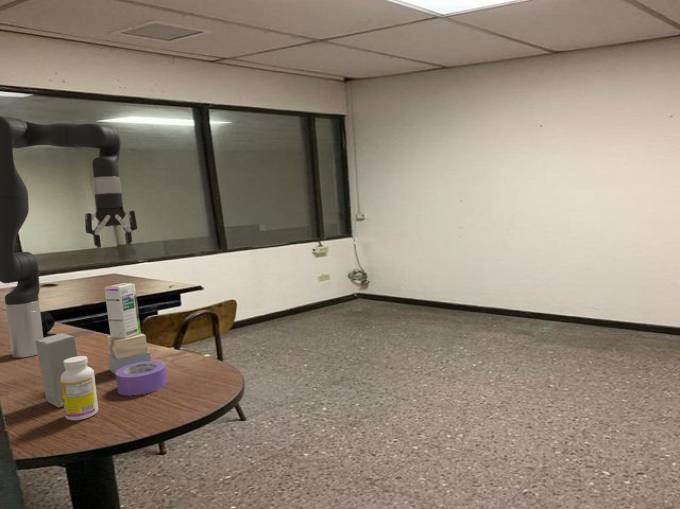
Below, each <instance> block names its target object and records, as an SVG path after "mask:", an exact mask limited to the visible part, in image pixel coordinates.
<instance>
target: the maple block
mask: <svg viewBox="0 0 680 509" xmlns="http://www.w3.org/2000/svg"><path fill="white" fill-rule="evenodd" d="M147 344H148V343H147V335H146V334H144V333H142V332H141V333H140V334H136V335H133V336H130V337H128V338H112V337H111V335H108V336H107V346H108V353H109V354H110V355H112V356H113V357H115V358H116V359H122V358H126V357H131V356H135V355H139V354H143V353H147V351H148V345H147Z"/></svg>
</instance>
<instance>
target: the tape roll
mask: <svg viewBox="0 0 680 509" xmlns="http://www.w3.org/2000/svg"><path fill="white" fill-rule="evenodd" d="M115 378H116V387H117V393H118V394H119V395H121V396H126V397H132V395H135V396H142V395H141V394H143V395H147V394H146V393H148V394H151V393H154V392H153V391H155V392H157V391H159V390H158V389H160V388H162V387H163V386H165V385H166V383H167V384H168V380H167V379H168V378H167V369H166V363H165V362H162V361H159V360H158V361H157V360H151V361H146V362H139V363H134V364H130V365H127V366H125V367H122V368H120V369H119V370H117V372H116V375H115ZM166 386H167V385H166ZM166 386H165V387H166ZM163 388H164V387H163ZM163 388H162V389H163ZM156 390H157V391H156ZM160 390H161V389H160ZM150 392H151V393H150Z"/></svg>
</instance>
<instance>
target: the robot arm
mask: <svg viewBox="0 0 680 509" xmlns="http://www.w3.org/2000/svg"><path fill="white" fill-rule="evenodd" d="M121 142H122V141H121V137H120V134H119V132H118V131H117V129H115V128H114V127H113V126H108V125H103V124H99V123H80V124H78V123H62V122H61V123H59V122H58V123H52V124H51V123H50V124H40V123H33V122H31V121H25V120H23V119H20V118H15V117H8V116H2V115H0V283H2V284H11V283H17V285H16V286H15V287H14V289H13V290H12V291H9V293H7V294H6V295H4V304H5V310H6V312H5V313H6V317H7V318H6V319H7V326H8V333H9V334H8V335H9V342H10V350H11V357H12V358H15V359H16V358H17V359H19V358H28V357H29V358H30V357H33V356H38V352H37V347H36V340H37V339H41V338H43V331H42V323H41V314H40V313H41V309H40V300H39V299H40V298H39V294H40V290H41V289H40V274H39V273H40V272H39V264H38V261H37V258H36V257H35V255H34V254H33V253H32V252H29V251H21V252H15V249H16V248H15V245H16V238H17V236H18V234H19V233H20V230H21V228H22V226H23V225H24V223H25V221H26V219H27V217H28V214H29V210H30V208H29V191H28V189H27V186H26V184H25V182H24V180H23V179H22V177H21V175H20V173H19V171H18V170H17V168H16V165H15V162H14V152H13V149H22V148H23V149H24V148H28V147H29V148H30V147H34V146H35V147H36V146H52V147H53V146H54V147H58V148H59V147H60V148H74V149H75V148H76V149H78V148H79V149H81V148H89V149H90V148H91V149H98V150H99V155H98V157H95V158H93V159H92V164H91V165H92V173H93V174H92V175H93V192H94V201H95V209H96V211H95V213H91V212H86V213H85V214H84V222H85V224H84V226H85V233H86V234H90V235H92V237H93V245H94V246H95V247H96V248H98V249H99V248H100V249H101V248H102V241H101V236H100V233H101V231H102V230H103V229H104V228H105V227H112V226H113V227H117V226H118V227H120V228H121V229H122V230H124V238H125V239H124V240H125V244H126V246H127V245H131V243H132V242H133V239H132V238H133V237H132V236H133V235H132V232H133V231H136V230H138V226H137V225H138V224H137V219H136V218H137V217H136V213H135V210H128V211H125V210H124V204H123V203H124V202H123V192H122V191H123V188H122V183H121V180H120V173H119V164H118V163H119V159H120V153H121V152H120V151H121V146H122V145H121ZM125 217H126V218H128V221H129V224H130V226H129V225H128V223H126V222H125V221H124V218H125ZM95 218H96V219H97V220H98V223H97V224H96V226H95V227H94V229H93V221H94V219H95Z"/></svg>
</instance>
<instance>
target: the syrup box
mask: <svg viewBox="0 0 680 509" xmlns="http://www.w3.org/2000/svg"><path fill="white" fill-rule="evenodd" d="M104 296H105V302H106V311H107V318H108V319H107V320H108V325H109V333H110V335H109V336H111V337H112V338H128V337H130V336H133V335H136V334H140V333H142V331H141V323H140V317H139V316H140V314H139V306H138V300H137V298H138V297H137V290H136V284H135V283H133V282H123V283H118V284H115V285H114V284H113V285H110V286H105V287H104Z"/></svg>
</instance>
